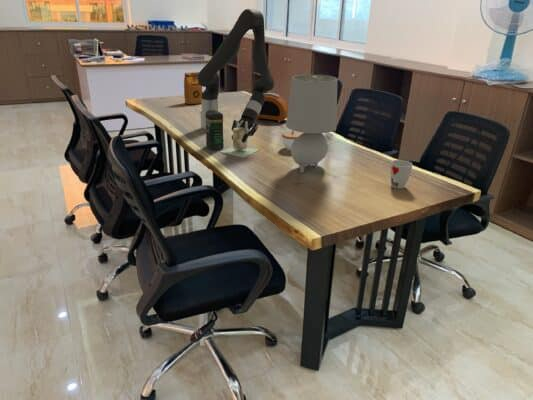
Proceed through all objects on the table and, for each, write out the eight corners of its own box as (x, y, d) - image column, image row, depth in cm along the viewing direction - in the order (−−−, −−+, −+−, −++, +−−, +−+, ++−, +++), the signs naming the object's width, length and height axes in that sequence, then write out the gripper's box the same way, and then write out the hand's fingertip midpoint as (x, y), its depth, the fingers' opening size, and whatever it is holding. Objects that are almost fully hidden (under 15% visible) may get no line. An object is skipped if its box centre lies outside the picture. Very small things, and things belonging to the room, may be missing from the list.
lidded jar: (285, 152, 207) (286, 134, 203) (278, 146, 216) (279, 128, 212) (305, 151, 209) (306, 133, 206) (298, 145, 219) (299, 127, 215)
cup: (385, 182, 175) (388, 159, 171) (403, 182, 176) (407, 159, 171) (392, 190, 168) (396, 166, 163) (411, 190, 168) (416, 166, 164)
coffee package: (204, 104, 302) (203, 72, 293) (188, 105, 296) (186, 73, 287) (199, 101, 310) (198, 70, 300) (183, 102, 304) (181, 71, 295)
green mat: (220, 152, 204) (220, 151, 204) (236, 145, 215) (236, 144, 215) (243, 157, 198) (243, 157, 198) (259, 150, 209) (259, 149, 209)
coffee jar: (225, 149, 209) (225, 112, 201) (210, 151, 206) (209, 113, 198) (219, 143, 217) (218, 108, 209) (204, 145, 214) (203, 109, 206)
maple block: (233, 148, 205) (232, 128, 201) (238, 146, 209) (238, 126, 205) (241, 150, 203) (241, 130, 199) (247, 148, 207) (247, 128, 203)
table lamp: (318, 181, 174) (326, 83, 157) (273, 170, 184) (277, 77, 167) (339, 166, 191) (349, 76, 175) (298, 156, 202) (303, 71, 185)
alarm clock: (249, 119, 266) (250, 92, 259) (255, 116, 274) (255, 90, 267) (284, 123, 259) (285, 96, 252) (289, 120, 266) (290, 93, 259)
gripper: (236, 105, 207) (222, 134, 203) (261, 109, 201) (247, 139, 196) (242, 113, 213) (229, 142, 209) (266, 118, 207) (253, 147, 203)
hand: (238, 140), depth 203 cm, fingers open, 5 cm apart
